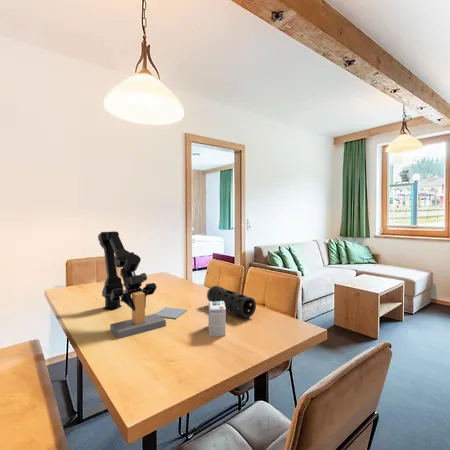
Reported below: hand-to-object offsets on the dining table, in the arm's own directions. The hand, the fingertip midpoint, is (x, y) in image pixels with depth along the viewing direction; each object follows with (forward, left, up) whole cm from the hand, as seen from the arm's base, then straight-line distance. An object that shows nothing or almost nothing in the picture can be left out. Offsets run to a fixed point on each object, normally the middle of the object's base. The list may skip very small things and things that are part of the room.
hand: (139, 309), depth 119 cm
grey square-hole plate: (-1, +1, -8) cm, 8 cm away
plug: (-1, +1, -8) cm, 8 cm away
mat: (+3, +21, -8) cm, 22 cm away
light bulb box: (+31, +9, -9) cm, 33 cm away
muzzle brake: (+29, +33, -9) cm, 45 cm away
